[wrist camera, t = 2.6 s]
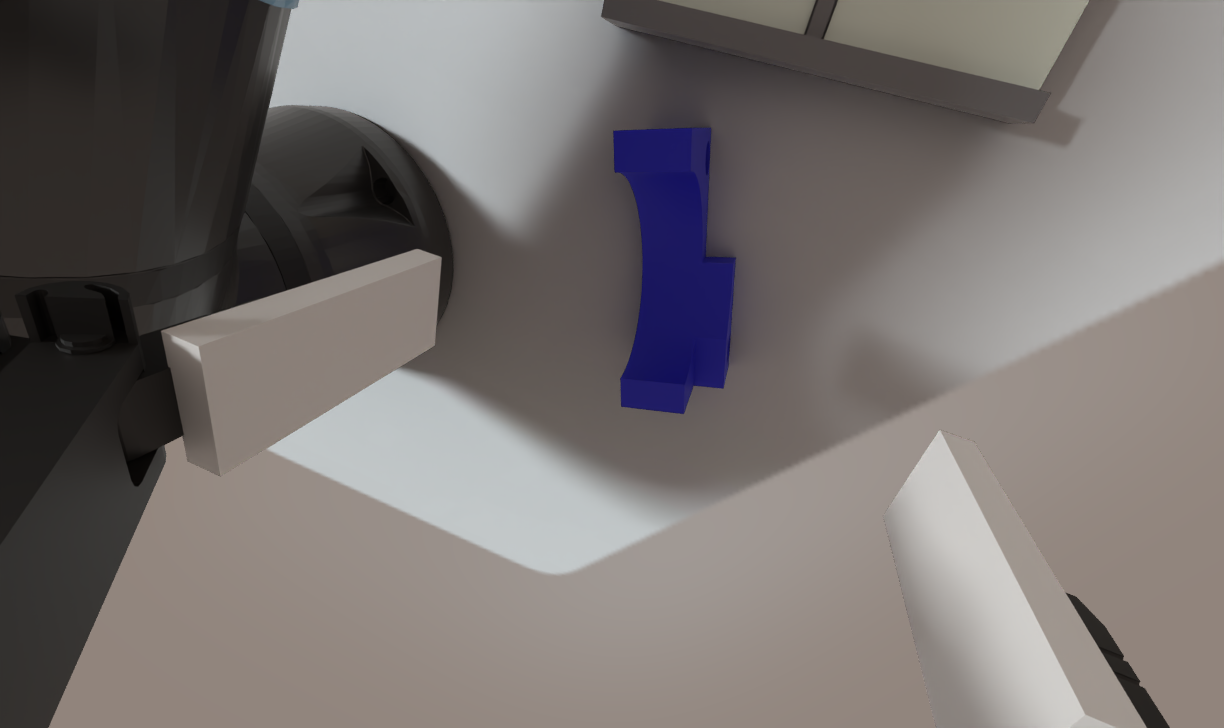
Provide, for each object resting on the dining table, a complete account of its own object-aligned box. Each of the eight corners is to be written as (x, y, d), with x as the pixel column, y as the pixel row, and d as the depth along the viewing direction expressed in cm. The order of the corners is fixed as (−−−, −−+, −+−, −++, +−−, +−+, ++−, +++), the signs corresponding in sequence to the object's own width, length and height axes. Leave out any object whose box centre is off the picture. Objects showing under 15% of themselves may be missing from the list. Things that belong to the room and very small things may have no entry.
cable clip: (728, 364, 28) (716, 417, 23) (649, 357, 30) (621, 406, 25) (744, 126, 24) (733, 126, 18) (649, 130, 25) (613, 130, 20)
